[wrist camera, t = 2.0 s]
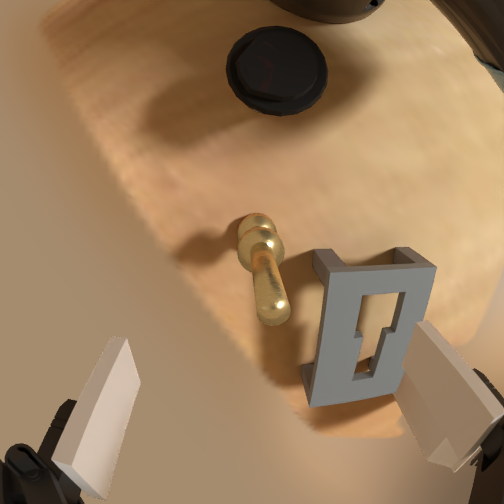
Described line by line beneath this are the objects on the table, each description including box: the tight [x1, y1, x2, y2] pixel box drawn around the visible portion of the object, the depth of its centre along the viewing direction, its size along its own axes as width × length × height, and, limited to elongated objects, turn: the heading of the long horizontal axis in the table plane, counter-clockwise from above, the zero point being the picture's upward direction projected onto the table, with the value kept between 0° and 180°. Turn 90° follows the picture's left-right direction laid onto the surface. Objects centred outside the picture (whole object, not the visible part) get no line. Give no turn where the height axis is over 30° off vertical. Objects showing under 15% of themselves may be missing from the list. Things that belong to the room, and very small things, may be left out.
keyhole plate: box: [301, 247, 437, 408], centre depth 31 cm, size 18×12×6 cm, turn 0°
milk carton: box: [392, 372, 480, 473], centre depth 30 cm, size 7×7×19 cm
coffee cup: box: [226, 26, 328, 116], centre depth 20 cm, size 7×7×10 cm
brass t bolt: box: [237, 213, 291, 326], centre depth 22 cm, size 4×4×15 cm
